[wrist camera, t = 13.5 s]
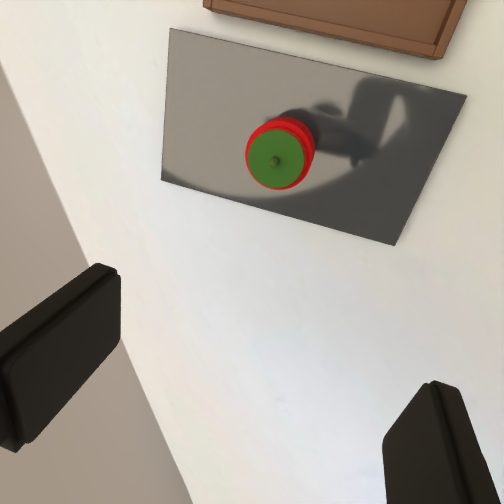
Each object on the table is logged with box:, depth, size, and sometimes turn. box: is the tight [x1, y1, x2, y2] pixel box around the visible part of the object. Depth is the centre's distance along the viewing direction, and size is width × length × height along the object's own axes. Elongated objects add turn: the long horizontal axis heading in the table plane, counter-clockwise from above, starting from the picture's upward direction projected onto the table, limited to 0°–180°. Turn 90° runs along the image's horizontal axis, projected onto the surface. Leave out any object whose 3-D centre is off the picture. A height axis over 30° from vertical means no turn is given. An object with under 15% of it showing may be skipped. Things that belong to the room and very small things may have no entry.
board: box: [161, 28, 467, 246], centre depth 25 cm, size 20×11×1 cm, turn 79°
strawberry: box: [245, 117, 315, 190], centre depth 21 cm, size 4×4×7 cm
